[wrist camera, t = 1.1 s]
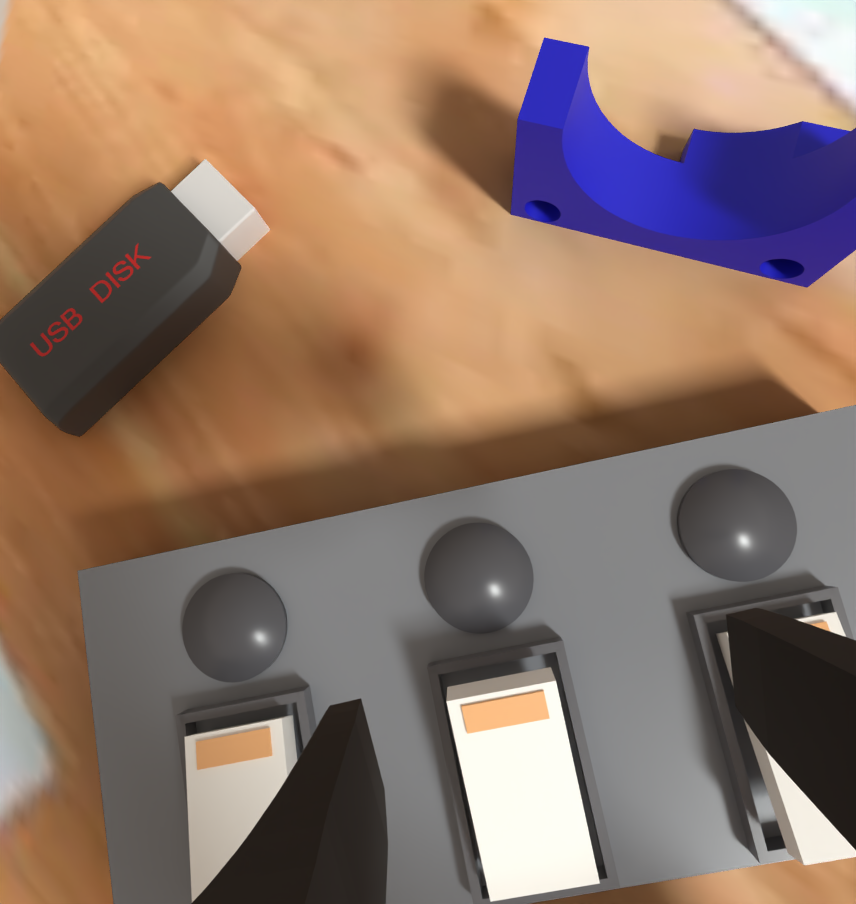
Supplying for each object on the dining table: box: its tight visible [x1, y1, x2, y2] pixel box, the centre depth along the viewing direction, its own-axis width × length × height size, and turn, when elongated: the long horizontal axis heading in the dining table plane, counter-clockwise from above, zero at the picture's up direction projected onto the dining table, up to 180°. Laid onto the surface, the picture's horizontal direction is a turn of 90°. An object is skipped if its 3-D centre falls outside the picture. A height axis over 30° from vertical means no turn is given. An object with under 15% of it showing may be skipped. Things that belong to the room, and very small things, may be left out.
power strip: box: [78, 405, 856, 904], centre depth 20 cm, size 13×35×4 cm, turn 102°
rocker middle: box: [446, 667, 600, 902], centre depth 18 cm, size 6×3×1 cm, turn 12°
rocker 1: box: [185, 715, 297, 902], centre depth 18 cm, size 6×3×1 cm, turn 11°
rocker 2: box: [716, 612, 856, 865], centre depth 17 cm, size 6×3×1 cm, turn 11°
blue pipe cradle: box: [511, 38, 856, 287], centre depth 22 cm, size 12×4×6 cm, turn 72°
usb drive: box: [0, 159, 270, 437], centre depth 25 cm, size 5×12×3 cm, turn 134°
